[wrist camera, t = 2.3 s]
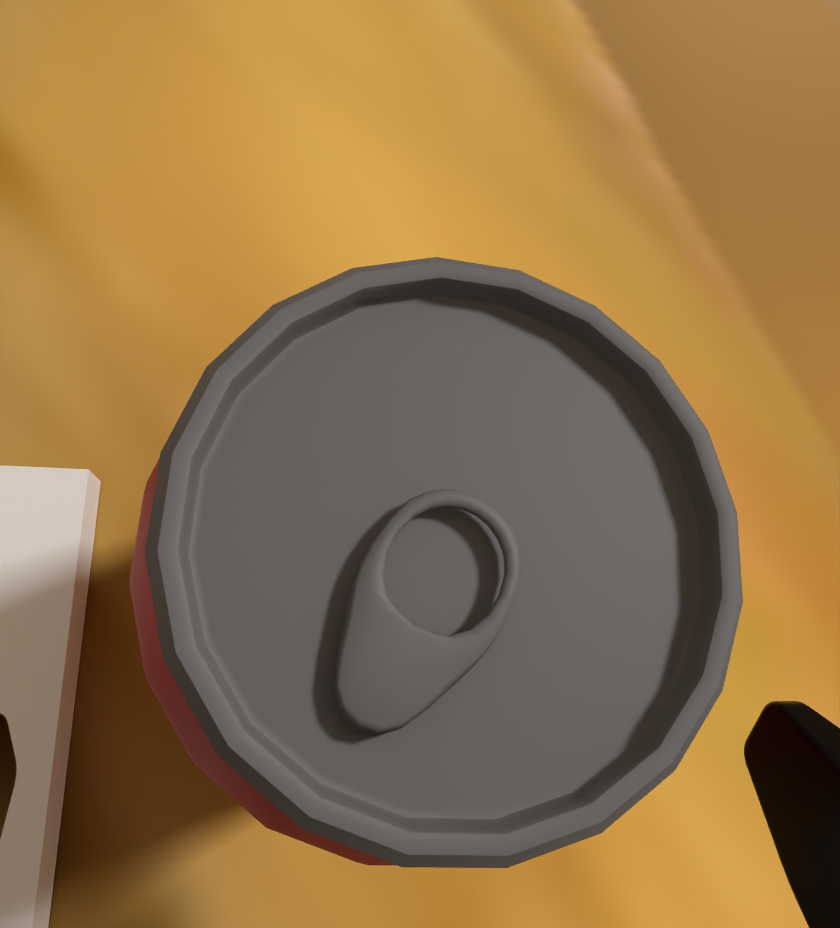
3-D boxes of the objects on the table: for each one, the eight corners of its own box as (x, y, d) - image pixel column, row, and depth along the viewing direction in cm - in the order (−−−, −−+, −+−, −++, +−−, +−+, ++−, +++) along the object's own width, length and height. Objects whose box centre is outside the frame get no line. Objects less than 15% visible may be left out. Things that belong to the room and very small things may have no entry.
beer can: (148, 659, 17) (-119, 667, 5) (303, 433, 19) (351, 91, 7) (388, 805, 17) (632, 1118, 5) (514, 566, 19) (880, 432, 8)
